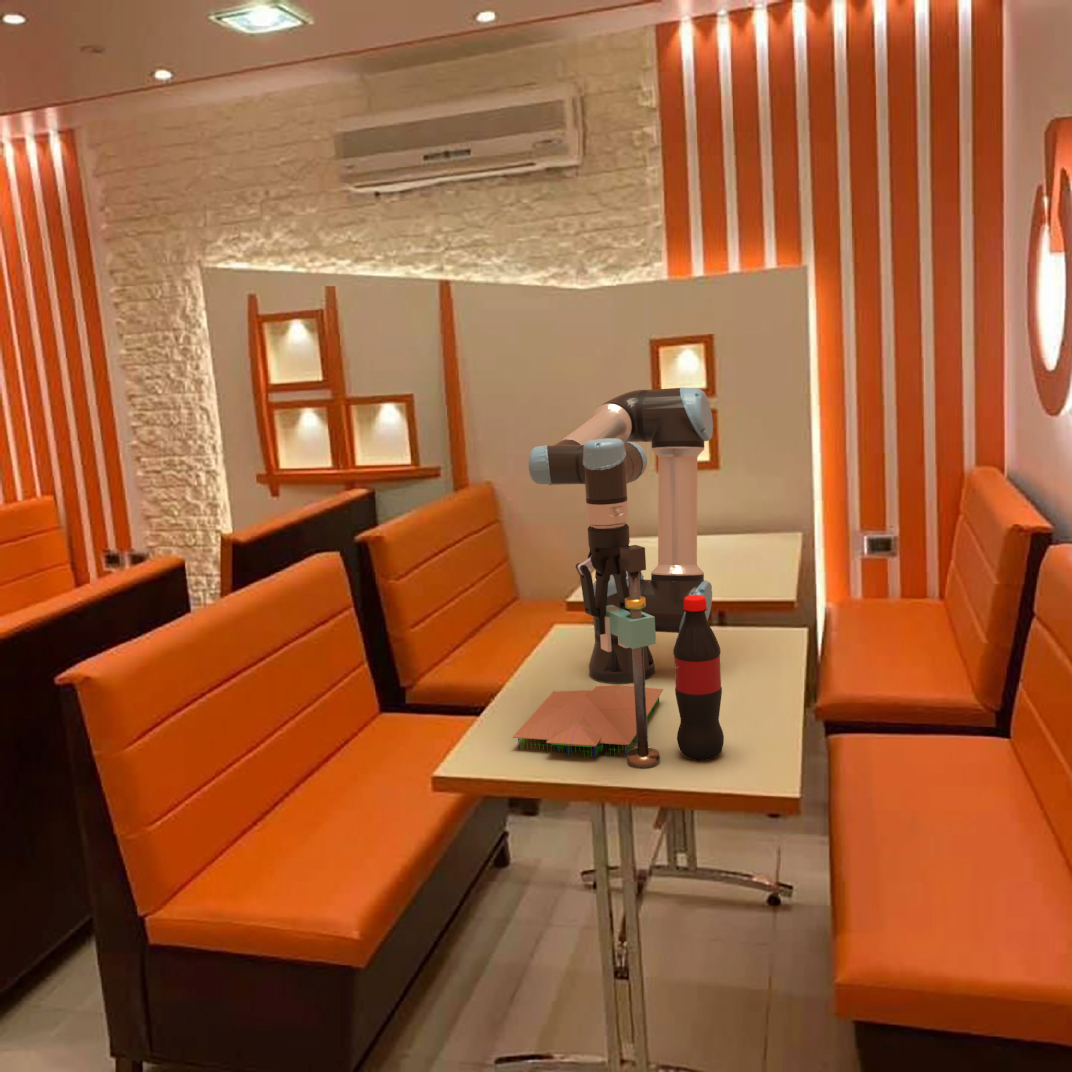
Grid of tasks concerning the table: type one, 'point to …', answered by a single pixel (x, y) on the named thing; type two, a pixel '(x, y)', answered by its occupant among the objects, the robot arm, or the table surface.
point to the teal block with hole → (631, 627)
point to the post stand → (638, 658)
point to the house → (588, 718)
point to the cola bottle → (698, 684)
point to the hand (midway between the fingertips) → (615, 647)
